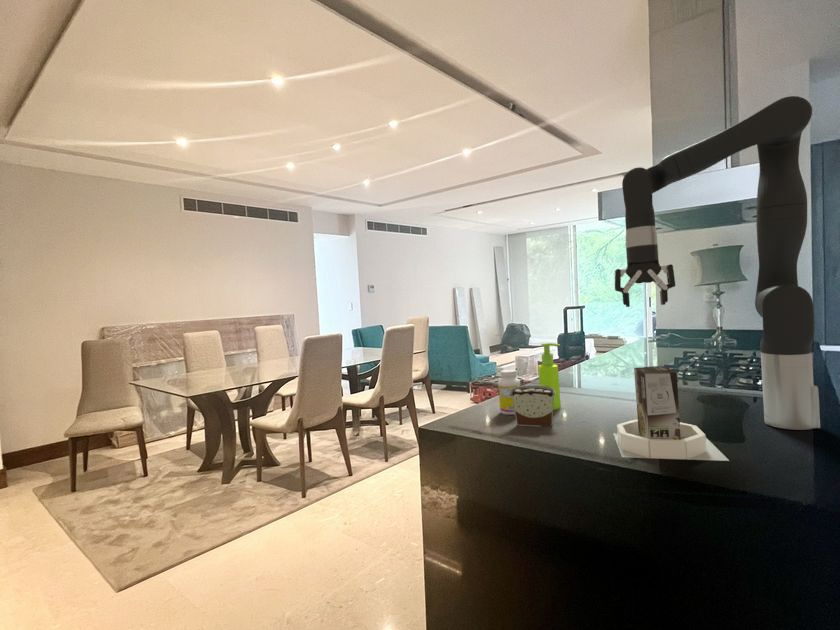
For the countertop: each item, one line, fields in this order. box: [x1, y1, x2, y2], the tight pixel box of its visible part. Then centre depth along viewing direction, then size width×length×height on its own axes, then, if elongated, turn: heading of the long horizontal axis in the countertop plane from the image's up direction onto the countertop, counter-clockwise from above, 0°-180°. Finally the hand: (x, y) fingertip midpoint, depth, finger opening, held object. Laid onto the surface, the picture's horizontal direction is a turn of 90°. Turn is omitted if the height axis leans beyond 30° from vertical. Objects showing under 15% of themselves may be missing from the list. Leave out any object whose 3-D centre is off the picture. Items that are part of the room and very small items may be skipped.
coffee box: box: [633, 365, 681, 440], centre depth 95 cm, size 9×6×16 cm
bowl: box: [616, 418, 707, 460], centre depth 95 cm, size 16×16×4 cm
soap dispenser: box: [537, 342, 562, 411], centre depth 134 cm, size 6×7×20 cm
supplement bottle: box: [497, 369, 521, 416], centre depth 133 cm, size 7×7×13 cm
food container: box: [510, 384, 556, 428], centre depth 120 cm, size 12×6×10 cm, turn 65°
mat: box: [612, 433, 730, 462], centre depth 94 cm, size 19×16×1 cm
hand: (645, 305), depth 116 cm, fingers open, 8 cm apart
